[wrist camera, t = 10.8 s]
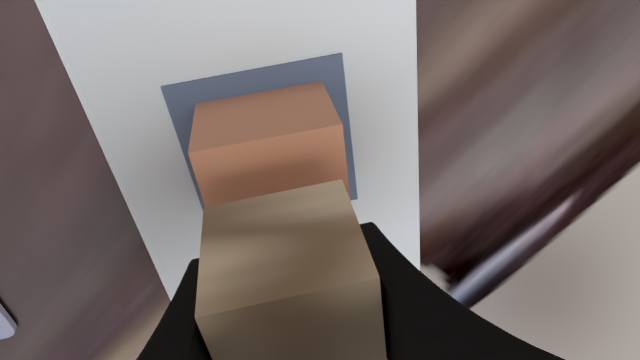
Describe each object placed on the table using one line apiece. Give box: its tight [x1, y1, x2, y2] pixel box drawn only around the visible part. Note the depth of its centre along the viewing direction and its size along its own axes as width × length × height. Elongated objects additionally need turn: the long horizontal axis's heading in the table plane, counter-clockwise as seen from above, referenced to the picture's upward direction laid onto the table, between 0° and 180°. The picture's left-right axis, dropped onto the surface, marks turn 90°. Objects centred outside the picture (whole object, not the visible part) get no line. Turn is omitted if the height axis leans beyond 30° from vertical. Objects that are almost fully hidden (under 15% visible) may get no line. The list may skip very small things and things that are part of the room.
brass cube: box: [195, 179, 387, 360], centre depth 13 cm, size 4×4×4 cm
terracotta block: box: [188, 81, 351, 207], centre depth 18 cm, size 5×5×4 cm
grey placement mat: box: [35, 0, 420, 301], centre depth 19 cm, size 13×20×1 cm, turn 7°
